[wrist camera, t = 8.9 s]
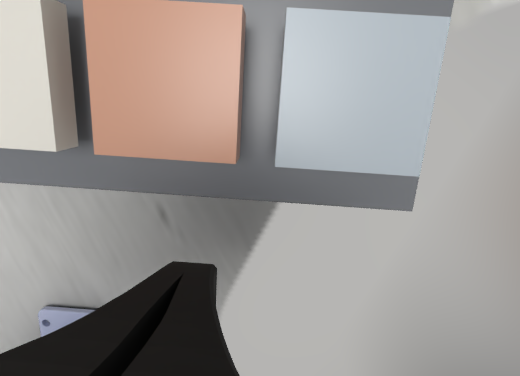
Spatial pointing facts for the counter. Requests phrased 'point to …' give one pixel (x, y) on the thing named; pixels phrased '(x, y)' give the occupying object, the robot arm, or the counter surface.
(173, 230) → the counter surface
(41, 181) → the key console
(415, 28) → the slate key
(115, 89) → the terracotta key
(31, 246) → the counter surface
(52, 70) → the ivory key
